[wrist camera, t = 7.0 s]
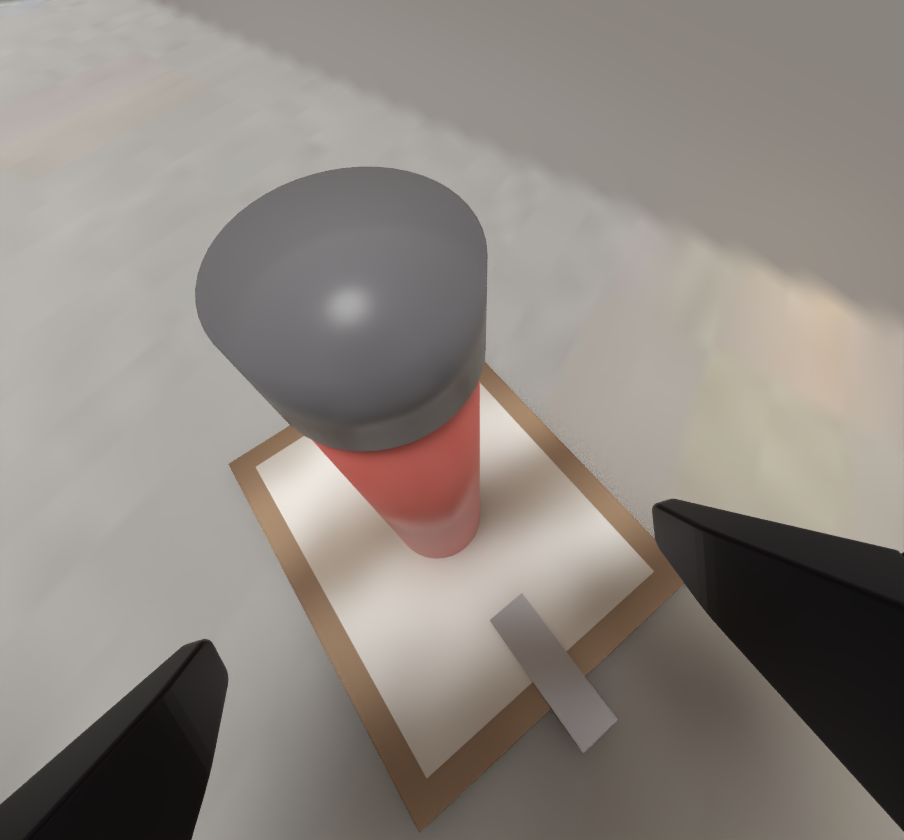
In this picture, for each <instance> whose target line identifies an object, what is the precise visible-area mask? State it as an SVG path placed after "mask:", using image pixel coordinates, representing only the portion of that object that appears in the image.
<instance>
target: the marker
mask: <svg viewBox="0 0 904 840" xmlns="http://www.w3.org/2000/svg"><path fill="white" fill-rule="evenodd" d="M195 297H196V308H197V312H198V317H199V320H200V322H201V324H202V327H203V329H204V331H205V333H206V334H207V335H208V337H209V338H210V340H211V341H212V343H213V344H214V345H215V346H216V347H217V348H218V349H219V350H220V351H221V353H222V354H223V355H224V356H225V357H226V358H227V359H228V360H229V361H230V362H231V363H232V364H233V365H234V366H235V367H236V368H237V369H238V371H239V372H240V373H241V374H242V375H243V376H244V377H245V378H246V379H247V380H248V381H249V382H250V383H251V384H252V385H253V386H254V387H255V389H256V390H257V391H258V392H259V393H260V394H261V395H262V396H263V397H264V398H265V399H266V400H267V401H268V402H269V403H270V404H271V405H272V407H273V408H274V409H275V410H276V411H277V412H278V413H279V414H280V415H281V416H282V417H283V418H284V419H285V420H286V421H287V422H288V423H289V424H290V425H291V426H292V427H293V428H294V429H295V430H297V431H298V432H299V433H301V434H302V435H304V436H305V437H307V438H309V439H311V440H312V441H313V442H314V443H315V444H316V445H317V446H318V447H319V448H320V450H321V451H322V452H323V453H324V454H325V455H326V456H327V457H328V458H329V460H330V461H331V462H332V463H333V464H334V465H335V466H336V467H337V468H338V469H339V471H340V472H341V473H342V474H343V475H344V476H345V477H346V478H347V479H348V481H349V482H350V483H351V484H352V485H353V486H354V487H355V488H356V489H357V491H358V492H359V493H360V494H361V495H362V496H363V497H364V498H365V499H366V500H367V502H368V503H369V504H370V505H371V506H372V507H373V508H374V509H375V510H376V512H377V513H378V514H379V515H380V516H381V517H382V518H383V519H384V520H385V522H386V523H387V524H388V525H389V526H390V527H391V528H392V529H393V530H394V532H395V533H396V534H397V535H398V536H399V537H400V538H401V539H402V540H403V541H404V543H405V544H406V545H407V546H408V547H409V548H410V549H411V550H413V551H414V552H416V553H418V554H419V555H422V556H424V557H428V558H446V557H449V556H453V555H455V554H457V553H459V552H460V551H462V550H463V549H464V548H465V547H467V546H468V544H469V543H470V542H471V541H472V539H473V538H474V536H475V534H476V532H477V529H478V526H479V521H480V376H481V374H482V370H483V366H484V362H485V350H486V304H487V245H486V239H485V236H484V232H483V229H482V227H481V225H480V222H479V220H478V218H477V216H476V215H475V214H474V212H473V211H472V210H471V208H470V207H469V206H468V205H467V204H466V203H465V202H464V201H463V200H462V199H461V198H460V197H459V196H458V195H457V194H455V193H454V192H453V191H451V190H450V189H449V188H447V187H445V186H444V185H442V184H440V183H438V182H437V181H434V180H432V179H430V178H427V177H425V176H422V175H419V174H416V173H412V172H409V171H404V170H399V169H393V168H383V167H352V168H342V169H335V170H329V171H325V172H321V173H316V174H312V175H309V176H306V177H303V178H300V179H297V180H294V181H292V182H290V183H287V184H285V185H282V186H280V187H278V188H276V189H274V190H272V191H271V192H269V193H267V194H265V195H263V196H262V197H260V198H259V199H257V200H255V201H254V202H252V203H251V204H250V205H248V206H247V207H246V208H244V209H243V210H242V211H241V212H239V213H238V214H237V215H236V216H235V217H234V218H233V219H232V220H231V221H230V222H229V223H228V224H227V225H226V226H225V227H224V228H223V229H222V230H221V232H220V233H219V234H218V235H217V236H216V238H215V239H214V241H213V242H212V244H211V245H210V247H209V248H208V250H207V253H206V255H205V257H204V259H203V261H202V263H201V266H200V269H199V272H198V275H197V282H196V288H195Z"/></svg>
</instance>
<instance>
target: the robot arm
mask: <svg viewBox="0 0 904 840" xmlns="http://www.w3.org/2000/svg"><path fill="white" fill-rule="evenodd" d="M652 514H653V524H654V534H655V540H656V543H657V546H658V548H659V550H660V551H661V552H662V554H663V555H664V556H665V558H666V559H667V561H668V562H669V563H670V565H671V566H672V567H673V569H674V570H675V571H676V573H677V574H678V575H679V577H680V578H681V579H682V581H683V582H684V583H685V585H686V586H687V587H688V589H689V590H690V592H691V593H692V594H693V596H694V597H695V598H696V600H697V601H698V602H699V604H700V605H701V606H702V607H703V609H704V610H705V611H706V613H707V614H708V615H709V616H710V617H711V619H712V620H713V621H714V622H715V623H716V624H717V625H718V627H719V628H720V629H721V630H722V631H723V632H724V633H725V634H726V635H727V637H728V638H729V639H730V640H731V641H732V642H733V643H734V644H735V645H736V646H737V648H738V649H739V650H740V651H741V652H742V653H743V654H744V655H745V656H746V658H747V659H748V660H749V661H750V662H751V663H752V664H753V665H754V666H755V668H756V669H757V670H758V671H759V672H760V673H761V674H762V675H763V676H764V677H765V679H766V680H767V681H768V682H769V683H770V684H771V685H772V686H773V687H774V689H775V690H776V691H777V692H778V693H779V694H780V695H781V696H782V697H783V698H784V700H785V701H786V702H787V703H788V704H789V705H790V706H791V707H792V708H793V710H794V711H795V712H796V713H797V714H798V715H799V716H800V717H801V718H802V720H803V721H804V722H805V723H806V724H807V725H808V726H809V727H810V728H811V729H812V731H813V732H814V733H815V734H816V735H817V736H818V737H819V738H820V739H821V741H822V742H823V743H824V744H825V745H826V746H827V747H828V748H829V749H830V751H831V752H832V753H833V754H834V755H835V756H836V757H837V758H838V759H839V760H840V762H841V763H842V764H843V765H844V766H845V767H846V768H847V769H848V770H849V772H850V773H851V774H852V775H853V776H854V777H855V778H856V779H857V780H858V781H859V783H860V784H861V785H862V786H863V787H864V788H865V789H866V790H867V791H868V793H869V794H870V795H871V796H872V797H873V798H874V799H875V800H876V801H877V803H878V804H879V805H880V806H881V807H882V808H883V809H884V810H885V811H886V812H887V814H888V815H889V816H890V817H891V818H892V819H893V820H894V821H895V822H896V824H897V825H898V826H899V827H900V828H901V829H902V830H903V831H904V552H903V553H900V552H899V551H897V550H894V549H890V548H885V547H881V546H877V545H872V544H868V543H864V542H859V541H855V540H851V539H846V538H842V537H838V536H833V535H829V534H825V533H820V532H816V531H812V530H807V529H803V528H799V527H794V526H790V525H786V524H781V523H777V522H773V521H768V520H764V519H760V518H755V517H751V516H747V515H742V514H738V513H734V512H729V511H725V510H721V509H716V508H712V507H708V506H703V505H699V504H695V503H690V502H686V501H682V500H677V499H669V500H665V501H662V502H659V503H656V504H655V505H654V506H653V508H652ZM227 687H228V673H227V670H226V667H225V665H224V664H223V662H222V660H221V658H220V656H219V654H218V652H217V650H216V648H215V647H214V645H213V643H212V642H211V641H210V640H208V639H202V640H199V641H195V642H192V643H189V644H186V645H184V646H182V647H181V648H180V649H179V650H178V651H176V652H175V653H174V654H173V655H172V656H171V657H170V658H168V659H167V660H166V661H165V662H164V663H163V664H161V665H160V666H159V667H158V668H157V669H156V670H155V671H153V672H152V673H151V674H150V675H149V676H148V677H146V678H145V679H144V680H143V681H142V682H141V683H140V684H138V685H137V686H136V687H135V688H134V689H133V690H132V691H130V692H129V693H128V694H127V695H126V696H125V697H123V698H122V699H121V700H120V701H119V702H118V703H117V704H115V705H114V706H113V707H112V708H111V709H110V710H109V711H107V712H106V713H105V714H104V715H103V716H102V717H100V718H99V719H98V720H97V721H96V722H95V723H94V724H92V725H91V726H90V727H89V728H88V729H87V730H85V731H84V732H83V733H82V734H81V735H80V736H79V737H77V738H76V739H75V740H74V741H73V742H72V743H71V744H69V745H68V746H67V747H66V748H65V749H64V750H62V751H61V752H60V753H59V754H58V755H57V756H56V757H54V758H53V759H52V760H51V761H50V762H49V763H48V764H46V765H45V766H44V767H43V768H42V769H41V770H39V771H38V772H37V773H36V774H35V775H34V776H33V777H31V778H30V779H29V780H28V781H27V782H26V783H25V784H23V785H22V786H21V787H20V788H19V789H18V790H16V791H15V792H14V793H13V794H12V795H11V796H10V797H8V798H7V799H6V800H5V801H4V802H3V803H1V804H0V840H191V839H192V836H193V832H194V829H195V825H196V822H197V818H198V815H199V811H200V808H201V805H202V801H203V798H204V794H205V791H206V787H207V783H208V779H209V776H210V771H211V767H212V763H213V758H214V753H215V748H216V743H217V738H218V733H219V728H220V722H221V717H222V712H223V707H224V702H225V697H226V692H227Z"/></svg>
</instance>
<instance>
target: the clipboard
mask: <svg viewBox="0 0 904 840" xmlns="http://www.w3.org/2000/svg"><path fill="white" fill-rule="evenodd" d="M229 466H230V468H231V470H232V472H233V474H234V475H235V477H236V479H237V481H238V483H239V485H240V487H241V489H242V491H243V493H244V495H245V497H246V499H247V501H248V502H249V504H250V506H251V508H252V510H253V512H254V514H255V516H256V518H257V520H258V522H259V524H260V526H261V528H262V529H263V531H264V533H265V535H266V537H267V539H268V541H269V543H270V545H271V547H272V549H273V551H274V553H275V555H276V557H277V558H278V560H279V562H280V564H281V566H282V568H283V570H284V572H285V574H286V576H287V578H288V580H289V582H290V584H291V585H292V587H293V589H294V591H295V593H296V595H297V597H298V599H299V601H300V603H301V605H302V607H303V609H304V611H305V612H306V614H307V616H308V618H309V620H310V622H311V624H312V626H313V628H314V630H315V632H316V634H317V636H318V638H319V639H320V641H321V643H322V645H323V647H324V649H325V651H326V653H327V655H328V657H329V659H330V661H331V663H332V665H333V667H334V668H335V670H336V672H337V674H338V676H339V678H340V680H341V682H342V684H343V686H344V688H345V690H346V692H347V694H348V695H349V697H350V699H351V701H352V703H353V705H354V707H355V709H356V711H357V713H358V715H359V717H360V719H361V721H362V722H363V724H364V726H365V728H366V730H367V732H368V734H369V736H370V738H371V740H372V742H373V744H374V746H375V748H376V750H377V751H378V753H379V755H380V757H381V759H382V761H383V763H384V765H385V767H386V769H387V771H388V773H389V775H390V777H391V778H392V780H393V782H394V784H395V786H396V788H397V790H398V792H399V794H400V796H401V798H402V800H403V802H404V804H405V805H406V807H407V809H408V811H409V813H410V815H411V817H412V819H413V821H414V823H415V825H416V827H417V829H418V831H419V833H420V832H421V831H422V830H423V829H424V828H425V827H426V826H427V825H428V824H429V823H430V822H431V821H432V820H433V819H435V818H436V817H437V816H438V815H439V814H440V813H441V812H442V811H443V810H444V809H445V808H446V807H447V806H448V805H449V804H450V803H452V802H453V801H454V800H455V799H456V798H457V797H458V796H459V795H460V794H461V793H462V792H463V791H464V790H465V789H466V788H467V787H468V786H470V785H471V784H472V783H473V782H474V781H475V780H476V779H477V778H478V777H479V776H480V775H481V774H482V773H483V772H484V771H485V770H487V769H488V768H489V767H490V766H491V765H492V764H493V763H494V762H495V761H496V760H497V759H498V758H499V757H500V756H501V755H502V754H504V753H505V752H506V751H507V750H508V749H509V748H510V747H511V746H512V745H513V744H514V743H515V742H516V741H517V740H518V739H519V738H521V737H522V736H523V735H524V734H525V733H526V732H527V731H528V730H529V729H530V728H531V727H532V726H533V725H534V724H535V723H536V722H537V721H539V720H540V719H541V718H542V717H543V716H544V715H545V714H546V713H547V712H548V711H549V710H550V709H551V708H552V710H553V711H554V713H555V714H556V716H557V717H558V718H559V720H560V721H561V723H562V724H563V725H564V727H565V728H566V730H567V731H568V733H569V734H570V735H571V737H572V738H573V740H574V741H575V743H576V744H577V745H578V747H579V748H580V750H581V751H582V752H583V754H584V753H585V752H586V751H587V750H588V749H589V748H590V747H591V746H592V745H593V744H594V743H595V742H596V741H597V740H598V739H599V738H600V737H601V736H602V735H603V734H604V733H605V732H606V731H607V730H608V729H609V728H610V727H611V726H612V725H613V724H614V723H615V722H616V721H617V720H618V719H617V718H616V716H615V715H614V714H613V712H612V711H611V710H610V709H609V707H608V706H607V705H606V703H605V702H604V701H603V699H602V698H601V697H600V695H599V694H598V693H597V691H596V690H595V689H594V687H593V686H592V685H591V684H590V682H589V681H588V680H587V678H586V677H585V676H586V675H587V674H588V673H590V672H591V671H592V670H593V669H594V668H595V667H596V666H597V665H598V664H599V663H600V662H601V661H602V660H603V659H604V658H605V657H607V656H608V655H609V654H610V653H611V652H612V651H613V650H614V649H615V648H616V647H617V646H618V645H619V644H620V643H621V642H622V641H623V640H625V639H626V638H627V637H628V636H629V635H630V634H631V633H632V632H633V631H634V630H635V629H636V628H637V627H638V626H639V625H640V624H642V623H643V622H644V621H645V620H646V619H647V618H648V617H649V616H650V615H651V614H652V613H653V612H654V611H655V610H656V609H657V608H659V607H660V606H661V605H662V604H663V603H664V602H665V601H666V600H667V599H668V598H669V597H670V596H671V595H672V594H673V593H674V592H676V591H677V590H678V589H679V588H680V587H681V586H682V585H683V584H684V582H683V581H682V579H681V578H680V577H679V575H678V574H677V573H676V571H675V570H674V569H673V567H672V566H671V565H670V563H669V562H668V561H667V559H666V558H665V556H664V555H663V554H662V552H661V551H660V550H659V548H658V546H657V543H656V540H655V539H654V538H653V537H652V536H651V535H650V534H649V533H648V532H647V531H646V530H645V529H644V528H643V527H642V526H641V525H640V524H639V522H638V521H637V520H636V519H635V518H634V517H633V516H632V515H631V514H630V513H629V512H628V511H627V510H626V509H625V508H624V507H623V506H622V505H621V504H620V503H619V502H618V501H617V499H616V498H615V497H614V496H613V495H612V494H611V493H610V492H609V491H608V490H607V489H606V488H605V487H604V486H603V485H602V484H601V483H600V482H599V481H598V480H597V479H596V478H595V476H594V475H593V474H592V473H591V472H590V471H589V470H588V469H587V468H586V467H585V466H584V465H583V464H582V463H581V462H580V461H579V460H578V459H577V458H576V457H575V456H574V455H573V453H572V452H571V451H570V450H569V449H568V448H567V447H566V446H565V445H564V444H563V443H562V442H561V441H560V440H559V439H558V438H557V437H556V436H555V435H554V434H553V433H552V432H551V430H550V429H549V428H548V427H547V426H546V425H545V424H544V423H543V422H542V421H541V420H540V419H539V418H538V417H537V416H536V415H535V414H534V413H533V412H532V411H531V410H530V409H529V407H528V406H527V405H526V404H525V403H524V402H523V401H522V400H521V399H520V398H519V397H518V396H517V395H516V394H515V393H514V392H513V391H512V390H511V389H510V388H509V387H508V386H507V385H506V383H505V382H504V381H503V380H502V379H501V378H500V377H499V376H498V375H497V374H496V373H495V372H494V371H493V370H492V369H491V368H490V367H489V366H488V365H487V364H486V363H485V362H484V366H483V370H482V374H481V376H480V521H479V526H478V529H477V532H476V534H475V536H474V538H473V539H472V541H471V542H470V543H469V544H468V546H467V547H465V548H464V549H463V550H462V551H460V552H459V553H457V554H455V555H453V556H449V557H446V558H428V557H424V556H422V555H419V554H418V553H416V552H414V551H413V550H411V549H410V548H409V547H408V546H407V545H406V544H405V543H404V541H403V540H402V539H401V538H400V537H399V536H398V535H397V534H396V533H395V532H394V530H393V529H392V528H391V527H390V526H389V525H388V524H387V523H386V522H385V520H384V519H383V518H382V517H381V516H380V515H379V514H378V513H377V512H376V510H375V509H374V508H373V507H372V506H371V505H370V504H369V503H368V502H367V500H366V499H365V498H364V497H363V496H362V495H361V494H360V493H359V492H358V491H357V489H356V488H355V487H354V486H353V485H352V484H351V483H350V482H349V481H348V479H347V478H346V477H345V476H344V475H343V474H342V473H341V472H340V471H339V469H338V468H337V467H336V466H335V465H334V464H333V463H332V462H331V461H330V460H329V458H328V457H327V456H326V455H325V454H324V453H323V452H322V451H321V450H320V448H319V447H318V446H317V445H316V444H315V443H314V442H313V441H312V440H311V439H309V438H307V437H305V436H304V435H302V434H301V433H299V432H298V431H297V430H295V429H294V428H293V427H292V426H291V425H290V426H289V427H287V428H285V429H284V430H282V431H281V432H279V433H277V434H276V435H274V436H273V437H271V438H269V439H268V440H266V441H265V442H263V443H261V444H260V445H258V446H257V447H255V448H253V449H252V450H250V451H249V452H247V453H245V454H244V455H242V456H241V457H239V458H237V459H236V460H234V461H233V462H231V463H229Z"/></svg>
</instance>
